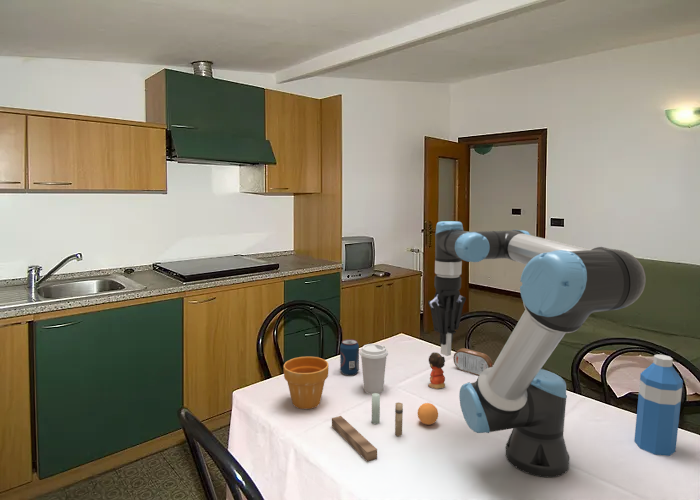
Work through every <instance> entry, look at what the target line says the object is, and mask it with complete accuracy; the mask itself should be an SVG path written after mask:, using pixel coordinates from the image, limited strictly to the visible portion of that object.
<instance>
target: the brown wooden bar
mask: <svg viewBox="0 0 700 500" xmlns="http://www.w3.org/2000/svg"><path fill="white" fill-rule="evenodd" d="M331 428H333V429H334V430H335V431H336V432H337V433H338V434H339V436H340V437H342V438H343V439H344V440H345V441H346V442H347V443H348V444H349V445H350V446H351V447H352V448H353V449H354V450H355V451H356V453H358V454H359V455H360V456H361V457H362V458H363V459H364V460H365V461H366V462H371V461H373V460H376V459H377V458H378V448H376V446H374V445H373V444H372V443H371V442H370V441H369V440H368V439H367V438H366V437H364V435H362V434H361V432H359V431H358V430H357V429H356V428H355V427H354V426H353V425H352V424H350V422H348V421H347V420H346V419H345V418H344V417H343V416H342V415H339V416H335V417H331Z"/></svg>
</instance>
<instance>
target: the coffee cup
mask: <svg viewBox="0 0 700 500" xmlns="http://www.w3.org/2000/svg"><path fill="white" fill-rule="evenodd" d="M388 355H389V353H388V350H387V348H386V346H385V345H382V344H379V343H368V344H364V345H363V346H362V348H361V349H360V350H359V356H361V366H362V367H361V369H362V370H361V371H362V379H363V380H362V381H363V391H364V392H365V393H367V394H370V395H372V394H373V393H379V394H381V393H383V391H384V385H385V384H384V383H385V374H386V366H387V365H386V363H387V357H388Z"/></svg>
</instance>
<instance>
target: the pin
mask: <svg viewBox="0 0 700 500" xmlns="http://www.w3.org/2000/svg"><path fill="white" fill-rule="evenodd" d="M403 406H404V405H403V402H396V403H395V406H394V407H395V409H394V410H395V411H394V412H395V414H394V415H395V416H394V417H395V418H394V419H395V420H394V422H395V424H394V435H395V436H396V437H402V436H403V413H404V409H403Z"/></svg>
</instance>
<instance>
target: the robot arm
mask: <svg viewBox="0 0 700 500" xmlns="http://www.w3.org/2000/svg"><path fill="white" fill-rule="evenodd" d="M434 236H435V240H434V241H435V242H434V243H435V245H434V247H435V248H434V249H435V250H434V252H435V253H434V256H435V257H434V274H435V275H434V288H435V294H434V298H433V299H432V300H430V299H429V300H428V301H427V304H428V306H429V308H430V313H431V319H432V325H433V330H434V332H436V333H439V343H440V355H441V354H442V355H443V356H446V357H449V356H451V355H452V343H453V337H454V334H456V332H457V330H459V328H460V323H461V319H462V314H463V308H464V304H465V302H466V300H467V297H466V296H463V295H461V292H460V290H461V288H462V277H461V275H462V266H463V261H465V262H469V263H478V262H481V261H483V260H497V259H500V260H501V259H507V260H510V261H512V262H513V261H514V262H517V263H520V264H523V265H525V266H524V268H523V270H522V272H521V276H520V279H519V280H520V282H521V283H522V284H521V286H519V292H520V297H521V300H522V302H523V303H522V304H523V307H524V309H525V310H524V312H523V313H522V315H521V317H520V318H519V320H518V322H517V324H516V325H515V327H514V329H513V330H512V332H511V333H510V335H509V337H508V338H507V341H506V342H505V344H504V346H503V347H502V349H501V351H500V353H499V355H498V356H497V358H496V360H495V362H493V366H492V367H490V368H487V369H485V370H483V371H482V372H481V374H480V375H479V376H477V379H476V381H474V382H470V381H469V382H467V383H463V384H462V385H461V387H460V389H459V395H458V396H459V397H458V399H459V404H460V409H461V412H462V416H463V418H464V421H465V423H466V425H467V426H468V427H469V429H470V430H471V431H473V433H476V434H489V433H493V432H500V431H506V430H510V429H512V430H511V432H510V434H509V437H508V439H507V441H506V444H505V452H504V453H505V457H506V460H507V461H508V462H509V463H510V465H512V466H514V468H516V469H517V470H520V471H521V472H524V473H526V474H528V475H533V476H537V477H544V478H553V477H554V478H555V477H560V476H562V475H564V474H566V473H567V472H568V471H569V469H570V454H569V452H568V450H567V445H566V441H565V437H564V432H565V417H566V416H565V415H566V404H567V398H568V395H567V383H566V381H565V379H563V378H562V377H561V376H560V375H558V374H556V373H554V372H553V371H552V372H551V371H548V370H546V369H543V366H544V365H545V364H546V362H547V360H548V359H549V358H550V357H551V355H552V354H553V352H554V351H555V349H556V347H558V345H559V343H560V342H561V340H562V339H563V338H564V336H565V335H566V334H571V333H574V332H576V331H578V330H579V329H581V328H582V326H583V324H584V323H585V322H586V320H587V319H588V318H589V316H590V315H591V314H593V313H598V312H599V313H600V312H606V311H607V312H608V311H616V310H617V311H618V310H621V309H624V308H627V307H629V306H631V305H633V303H636V301H638V299H640V297H641V295H642V294H643V292H644V290H645V286H646V281H647V280H646V273H645V270H644V267H643V265H642V263H640V261H639V260H638V258H636V257H635V256H634V255H633V254H631V253H629V252H627V251H624V250H622V249H613V248H608V247H603V246H595V247H592V248H586V247H581V246H578V245H574V244H569V243H565V242H562V241H557V240H553V239H548V238H544V237H540V236H536V235H535V236H534V235H532V234H530V232H529V231H528V230H520V229H511V230H481V231H477V230H475V231H466V230H464V227H463V223H462V222H461V221H457V220H455V221H454V220H453V221H451V220H450V221H446V220H445V221H442V220H441V221H438V222H437V223H436V226H435V233H434Z"/></svg>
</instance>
